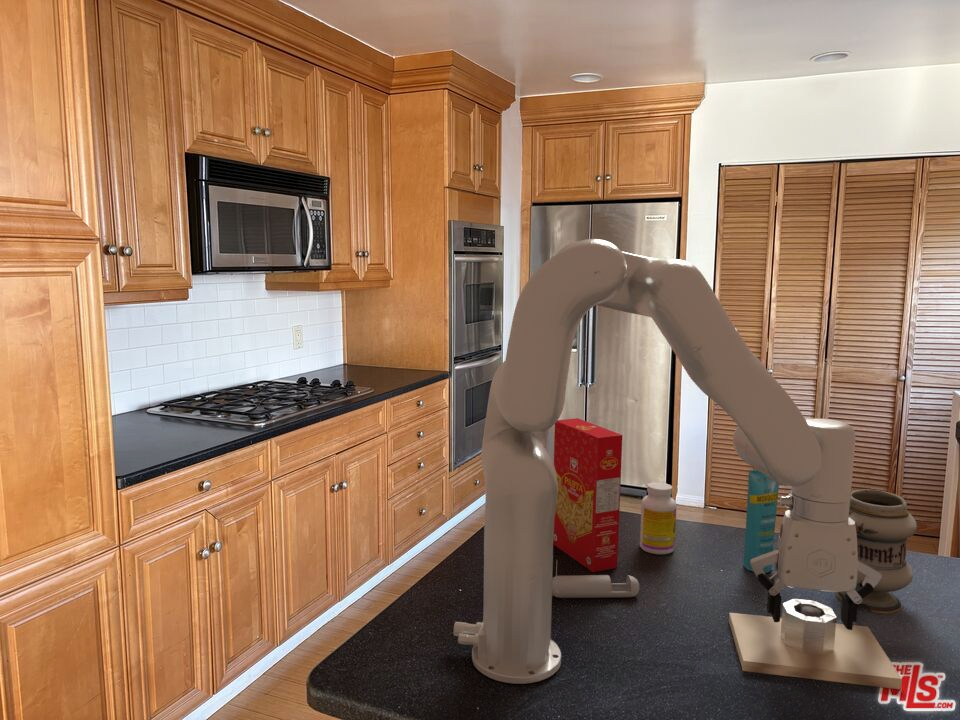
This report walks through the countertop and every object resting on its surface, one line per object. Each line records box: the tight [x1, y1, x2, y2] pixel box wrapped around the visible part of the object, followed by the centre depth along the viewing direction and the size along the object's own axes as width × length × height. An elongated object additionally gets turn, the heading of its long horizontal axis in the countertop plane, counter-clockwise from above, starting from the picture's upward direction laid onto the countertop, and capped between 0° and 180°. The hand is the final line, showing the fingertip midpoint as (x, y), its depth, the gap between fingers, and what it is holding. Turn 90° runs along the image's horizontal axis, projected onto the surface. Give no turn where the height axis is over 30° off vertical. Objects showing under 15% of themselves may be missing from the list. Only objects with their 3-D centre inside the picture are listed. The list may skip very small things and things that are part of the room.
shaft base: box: [728, 606, 903, 690], centre depth 104 cm, size 20×14×6 cm
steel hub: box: [781, 598, 838, 656], centre depth 104 cm, size 7×7×5 cm
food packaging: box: [553, 417, 623, 573], centre depth 137 cm, size 15×5×25 cm, turn 25°
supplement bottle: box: [639, 481, 677, 556], centre depth 141 cm, size 7×7×13 cm
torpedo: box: [552, 559, 640, 599], centre depth 121 cm, size 18×5×7 cm, turn 93°
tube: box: [743, 469, 780, 574], centre depth 132 cm, size 7×5×19 cm, turn 120°
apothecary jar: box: [834, 488, 918, 614], centre depth 120 cm, size 12×12×18 cm
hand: (810, 621), depth 104 cm, fingers open, 9 cm apart
